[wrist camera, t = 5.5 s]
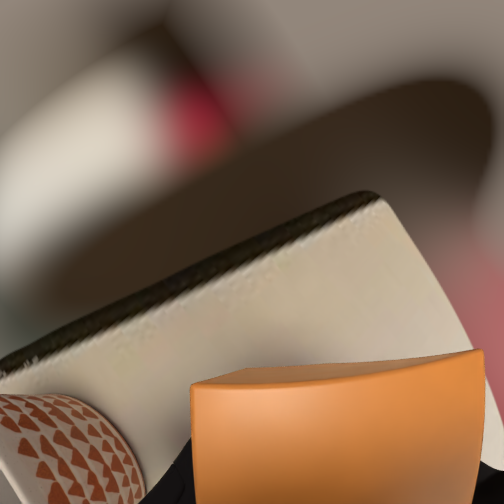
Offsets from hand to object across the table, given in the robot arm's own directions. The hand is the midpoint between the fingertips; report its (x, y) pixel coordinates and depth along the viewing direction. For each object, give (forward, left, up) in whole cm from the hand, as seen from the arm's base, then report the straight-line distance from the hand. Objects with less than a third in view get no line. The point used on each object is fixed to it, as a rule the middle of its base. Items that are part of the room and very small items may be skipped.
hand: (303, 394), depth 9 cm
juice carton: (-1, 0, -7) cm, 7 cm away
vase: (-8, +18, -11) cm, 23 cm away
